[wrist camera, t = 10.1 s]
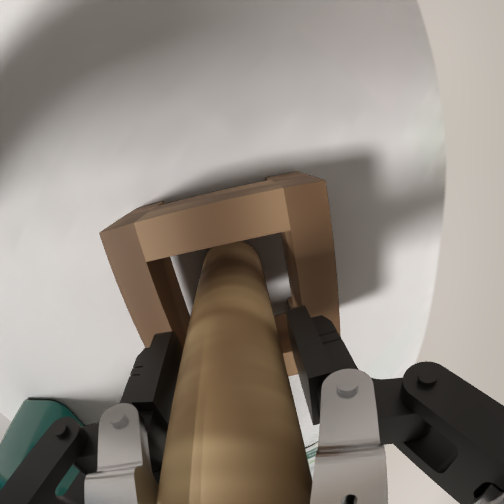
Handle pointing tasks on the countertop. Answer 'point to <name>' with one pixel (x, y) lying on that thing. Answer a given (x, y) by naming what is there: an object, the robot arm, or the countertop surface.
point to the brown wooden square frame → (219, 233)
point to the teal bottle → (32, 437)
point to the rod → (233, 396)
